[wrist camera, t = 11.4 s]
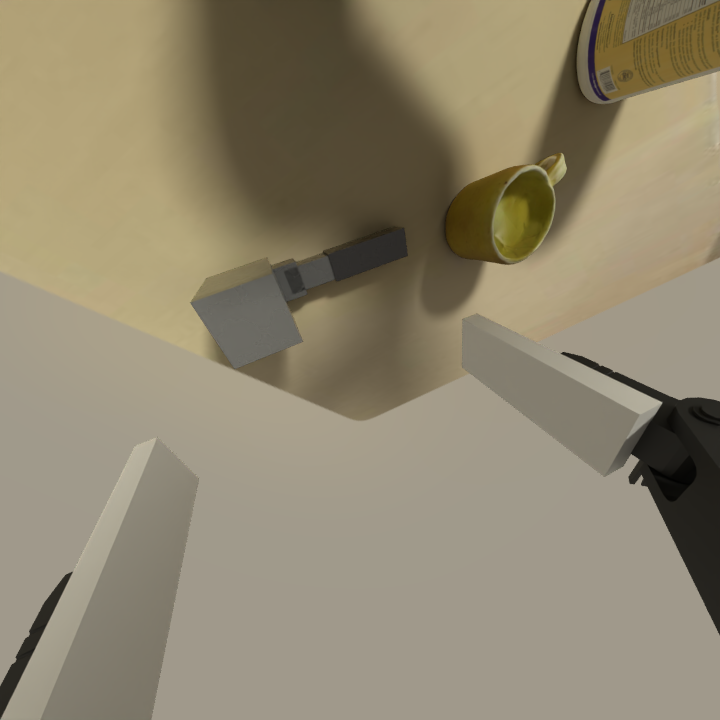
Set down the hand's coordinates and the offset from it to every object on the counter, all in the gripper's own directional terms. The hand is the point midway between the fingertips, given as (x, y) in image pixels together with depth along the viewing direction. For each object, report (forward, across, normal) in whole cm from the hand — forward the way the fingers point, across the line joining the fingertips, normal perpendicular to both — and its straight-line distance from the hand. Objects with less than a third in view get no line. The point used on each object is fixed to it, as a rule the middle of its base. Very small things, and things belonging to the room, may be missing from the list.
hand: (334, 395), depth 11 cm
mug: (+23, +26, +1) cm, 35 cm away
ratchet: (+22, +4, 0) cm, 23 cm away
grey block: (+20, -4, 0) cm, 20 cm away
